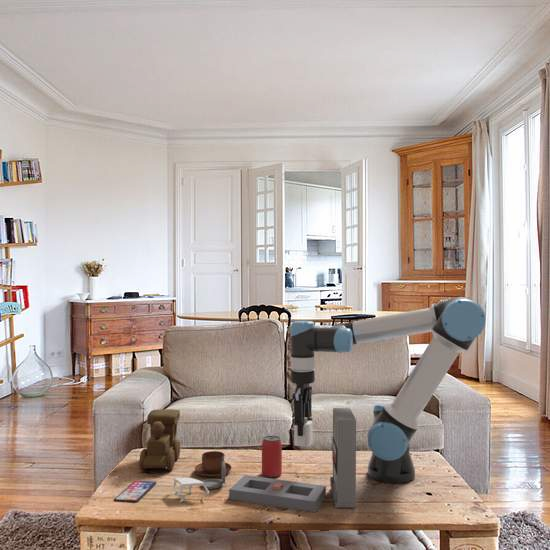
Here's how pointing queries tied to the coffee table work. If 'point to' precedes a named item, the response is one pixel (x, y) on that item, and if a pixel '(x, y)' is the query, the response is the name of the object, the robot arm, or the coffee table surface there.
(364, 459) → the coffee table surface
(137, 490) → the smartphone
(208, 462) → the cup and saucer
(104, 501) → the coffee table surface
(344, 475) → the upright grey rectangular panel
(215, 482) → the pocket watch
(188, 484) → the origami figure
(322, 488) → the power strip
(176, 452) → the wooden toy train
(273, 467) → the beer can
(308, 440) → the plug
